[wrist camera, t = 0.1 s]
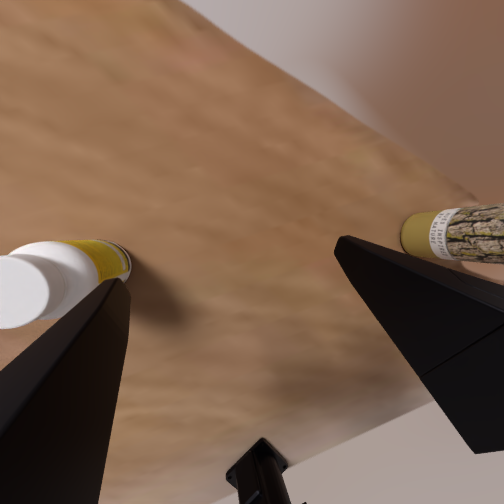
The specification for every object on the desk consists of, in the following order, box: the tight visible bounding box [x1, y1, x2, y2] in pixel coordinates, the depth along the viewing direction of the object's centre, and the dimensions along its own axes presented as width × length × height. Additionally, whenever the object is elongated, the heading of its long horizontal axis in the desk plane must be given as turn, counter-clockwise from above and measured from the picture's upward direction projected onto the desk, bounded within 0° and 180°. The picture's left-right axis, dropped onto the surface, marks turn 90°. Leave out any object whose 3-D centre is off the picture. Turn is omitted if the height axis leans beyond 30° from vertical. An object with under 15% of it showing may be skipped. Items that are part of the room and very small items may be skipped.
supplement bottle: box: [0, 240, 131, 329], centre depth 14 cm, size 5×5×10 cm
